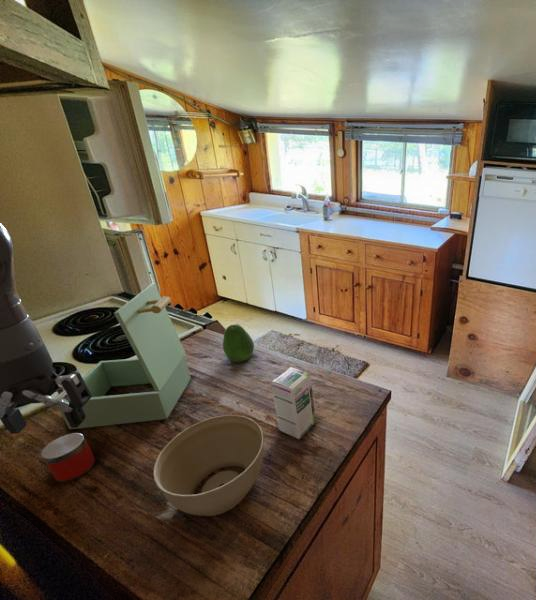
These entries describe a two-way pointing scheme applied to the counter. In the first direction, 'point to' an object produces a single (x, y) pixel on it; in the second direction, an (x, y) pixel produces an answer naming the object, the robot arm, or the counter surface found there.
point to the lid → (151, 334)
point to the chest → (128, 405)
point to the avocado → (237, 343)
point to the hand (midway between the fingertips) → (49, 426)
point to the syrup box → (294, 402)
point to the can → (68, 457)
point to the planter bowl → (210, 464)
